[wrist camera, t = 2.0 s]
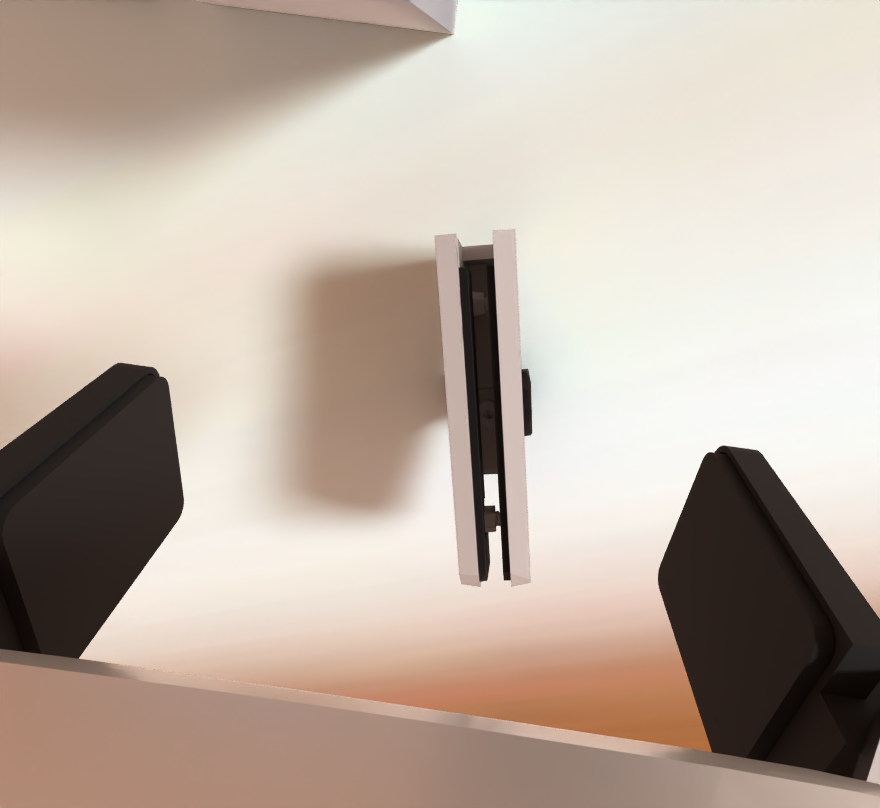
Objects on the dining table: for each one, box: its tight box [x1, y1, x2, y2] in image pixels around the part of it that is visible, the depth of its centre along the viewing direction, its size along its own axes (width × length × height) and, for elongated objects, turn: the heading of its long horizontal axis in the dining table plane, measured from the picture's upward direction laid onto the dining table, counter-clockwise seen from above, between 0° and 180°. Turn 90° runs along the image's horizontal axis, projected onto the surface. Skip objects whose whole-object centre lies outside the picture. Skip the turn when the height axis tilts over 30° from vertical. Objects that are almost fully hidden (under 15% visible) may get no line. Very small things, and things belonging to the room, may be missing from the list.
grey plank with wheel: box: [435, 229, 532, 587], centre depth 27 cm, size 4×10×15 cm
